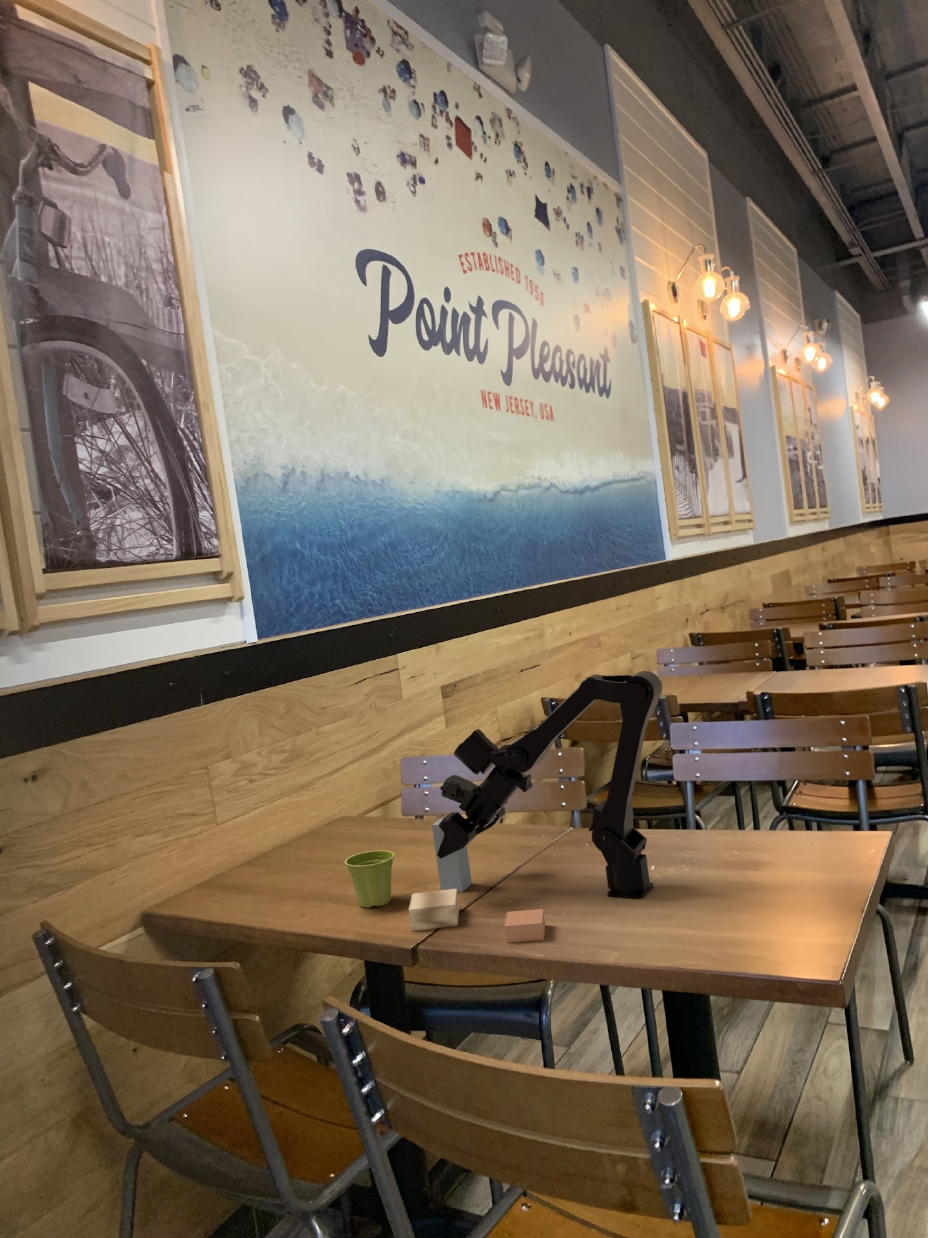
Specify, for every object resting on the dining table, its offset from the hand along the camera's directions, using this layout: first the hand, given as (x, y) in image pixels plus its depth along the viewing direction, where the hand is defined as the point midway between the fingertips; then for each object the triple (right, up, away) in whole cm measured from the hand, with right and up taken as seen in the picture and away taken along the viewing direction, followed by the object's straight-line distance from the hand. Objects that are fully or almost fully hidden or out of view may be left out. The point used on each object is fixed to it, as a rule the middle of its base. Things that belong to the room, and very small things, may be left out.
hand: (449, 848), depth 177 cm
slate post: (+1, -7, 0) cm, 8 cm away
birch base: (-2, -9, -15) cm, 18 cm away
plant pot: (-14, -10, -2) cm, 17 cm away
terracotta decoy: (+13, -7, -27) cm, 31 cm away
